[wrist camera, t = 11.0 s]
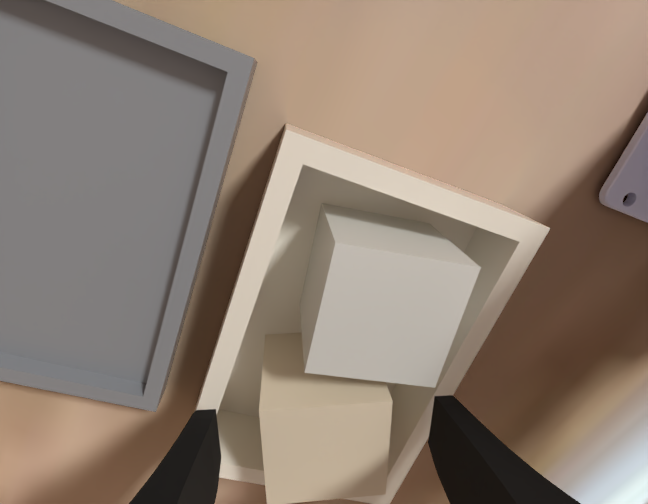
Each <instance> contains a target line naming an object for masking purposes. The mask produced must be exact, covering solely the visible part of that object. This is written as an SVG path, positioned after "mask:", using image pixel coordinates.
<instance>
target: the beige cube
mask: <svg viewBox="0 0 648 504" xmlns="http://www.w3.org/2000/svg"><path fill="white" fill-rule="evenodd" d="M392 404H393V401H392V398H391V395H390V392H389V389H388V387H387V384H386V382H381V381H372V380H363V379H354V378H346V377H337V376H328V375H320V374H311V373H304V359H303V345H302V333H285V334H267V335H265V344H264V356H263V368H262V380H261V392H260V404H259V418H260V430H261V442H262V454H263V465H264V477H265V489H266V501H267V504H289V503H300V502H311V501H321V500H332V499H343V498H353V497H364V496H375V495H385V494H386V484H387V471H388V458H389V444H390V431H391V417H392Z"/></svg>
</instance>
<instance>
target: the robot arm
mask: <svg viewBox="0 0 648 504" xmlns="http://www.w3.org/2000/svg"><path fill="white" fill-rule="evenodd" d="M627 194H628V197H627V199H626V200H625V201H624V202H623V199H624V197H625V196H626V195H627ZM599 200H600V202H601V203H602V204H603V205H604V206H607V207H609V208H612V209H614V210H617V211H619V212H622V213H624V214H627V215H629V216H632V217H634V218H637V219H639V220H641V221H644V222H646V223H648V113H647V114H646V116H645V117H644V119H643V121H642V122H641V124H640V126H639V127H638V129H637V131H636V132H635V134H634V136H633V137H632V139H631V141H630V142H629V144H628V145H627V147H626V149H625V150H624V152H623V154H622V155H621V157H620V159H619V160H618V162H617V164H616V165H615V167H614V169H613V170H612V172H611V173H610V175H609V177H608V178H607V180H606V182H605V183H604V185H603V187H602V188H601V191H600V193H599ZM428 444H429V447H430V450H431V454H432V457H433V461H434V464H435V467H436V470H437V473H438V476H439V478H440V481H441V483H442V485H443V488H444V490H445V492H446V495H447V497H448V499H449V502H450V504H580V503H579V502H578V501H576V500H575V499H573V498H572V497H570V496H569V495H567V494H566V493H565V492H563V491H562V490H561V489H559V488H558V487H556V486H555V485H554V484H552V483H551V482H550V481H548V480H547V479H546V478H544V477H543V476H542V475H540V474H539V473H538V472H537V471H535V470H534V469H533V468H532V467H530V466H529V465H528V464H527V463H526V462H524V461H523V460H522V459H521V458H520V457H518V456H517V455H516V454H515V453H514V452H512V451H511V450H510V449H509V448H508V447H507V446H506V445H504V444H503V443H502V442H501V441H500V440H499V439H498V438H497V437H496V436H495V435H493V434H492V433H491V432H490V431H489V430H488V429H487V428H486V427H485V426H484V425H483V424H482V423H481V422H480V421H479V420H478V419H476V418H475V417H474V416H473V415H472V414H471V413H470V412H469V411H468V410H467V409H466V408H465V407H464V406H463V405H462V404H461V403H460V402H459V401H458V400H457V399H456V398H455V397H454V396H453V395H447V396H435V397H434V404H433V411H432V419H431V426H430V433H429V440H428ZM220 465H221V449H220V440H219V432H218V423H217V415H216V409H209V410H196V411H195V412H194V413H193V414H192V416H191V418H190V419H189V421H188V423H187V424H186V426H185V428H184V429H183V431H182V432H181V434H180V435H179V437H178V438H177V440H176V441H175V443H174V444H173V446H172V447H171V449H170V450H169V452H168V453H167V455H166V456H165V457H164V459H163V460H162V462H161V463H160V464H159V466H158V467H157V469H156V470H155V471H154V473H153V474H152V475H151V477H150V478H149V479H148V480H147V482H146V483H145V484H144V486H143V487H142V488H141V489H140V491H139V492H138V493H137V495H136V496H135V497H134V498H133V500H132V501H131V502H130V503H129V504H214V503H215V499H216V494H217V489H218V481H219V473H220Z"/></svg>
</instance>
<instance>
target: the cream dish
mask: <svg viewBox="0 0 648 504" xmlns="http://www.w3.org/2000/svg"><path fill="white" fill-rule="evenodd" d="M321 203H324V204H329V205H335V206H340V207H345V208H351V209H356V210H361V211H366V212H372V213H377V214H382V215H388V216H393V217H398V218H404V219H409V220H414V221H420V222H425V223H429V224H431V225H432V226H433V227H434V228H435V229H436V230H438V231H439V232H440V233H441V234H442V235H443V236H445V237H446V238H447V239H448V240H449V241H451V242H452V243H453V244H454V245H455V246H456V247H458V248H459V249H460V250H461V251H462V252H463V253H465V254H466V255H467V256H468V257H469V258H470V259H472V260H473V261H474V262H475V263H476V264H477V265H479V266H480V267H481V269H480V272H479V274H478V277H477V279H476V282H475V285H474V287H473V290H472V292H471V295H470V298H469V300H468V303H467V306H466V308H465V311H464V313H463V316H462V319H461V321H460V324H459V326H458V329H457V332H456V334H455V337H454V339H453V342H452V345H451V347H450V350H449V352H448V355H447V358H446V360H445V363H444V366H443V368H442V371H441V373H440V376H439V379H438V381H437V384H436V386H435V388H433V387H424V386H415V385H407V384H398V383H389V382H386V384H387V387H388V389H389V392H390V395H391V398H392V401H393V404H392V417H391V431H390V444H389V458H388V471H387V484H386V494H385V495H375V496H364V497H353V498H343V499H347V500H353V501H358V502H364V503H370V504H390V503H391V501H392V499H393V497H394V496H395V494H396V492H397V491H398V489H399V487H400V485H401V484H402V482H403V480H404V479H405V477H406V475H407V473H408V472H409V470H410V468H411V467H412V465H413V463H414V461H415V460H416V458H417V456H418V455H419V453H420V451H421V449H422V448H423V446H424V444H425V443H426V441H427V439H428V437H429V433H430V426H431V419H432V411H433V404H434V397H435V396H447V395H454V393H455V391H456V389H457V388H458V386H459V384H460V383H461V381H462V379H463V377H464V376H465V374H466V372H467V371H468V369H469V367H470V365H471V364H472V362H473V360H474V359H475V357H476V355H477V353H478V352H479V350H480V348H481V347H482V345H483V343H484V341H485V340H486V338H487V336H488V335H489V333H490V331H491V329H492V328H493V326H494V324H495V322H496V321H497V319H498V317H499V316H500V314H501V312H502V310H503V309H504V307H505V305H506V304H507V302H508V300H509V298H510V297H511V295H512V293H513V292H514V290H515V288H516V286H517V285H518V283H519V281H520V280H521V278H522V276H523V274H524V273H525V271H526V269H527V268H528V266H529V264H530V262H531V261H532V259H533V257H534V256H535V254H536V252H537V250H538V249H539V247H540V245H541V244H542V242H543V240H544V238H545V237H546V235H547V233H548V232H549V230H550V228H549V227H547V226H545V225H543V224H541V223H539V222H537V221H535V220H533V219H530V218H528V217H526V216H524V215H522V214H520V213H518V212H516V211H514V210H512V209H510V208H508V207H506V206H504V205H501V204H499V203H497V202H494V201H491V200H489V199H486V198H483V197H481V196H478V195H475V194H473V193H470V192H468V191H465V190H462V189H460V188H457V187H454V186H452V185H449V184H446V183H444V182H441V181H438V180H436V179H433V178H430V177H428V176H425V175H423V174H420V173H417V172H415V171H412V170H409V169H407V168H404V167H401V166H399V165H396V164H393V163H391V162H388V161H385V160H383V159H380V158H378V157H375V156H372V155H370V154H367V153H364V152H362V151H359V150H356V149H354V148H351V147H348V146H346V145H343V144H340V143H338V142H335V141H333V140H330V139H327V138H325V137H322V136H319V135H317V134H314V133H311V132H309V131H306V130H303V129H301V128H298V127H295V126H293V125H290V124H288V123H286V124H285V127H284V131H283V134H282V137H281V140H280V143H279V146H278V149H277V152H276V156H275V159H274V162H273V165H272V168H271V171H270V174H269V178H268V181H267V184H266V187H265V190H264V193H263V196H262V200H261V203H260V206H259V209H258V212H257V215H256V218H255V222H254V225H253V228H252V231H251V234H250V237H249V240H248V244H247V247H246V250H245V253H244V256H243V259H242V262H241V265H240V269H239V272H238V275H237V278H236V281H235V284H234V287H233V291H232V294H231V297H230V300H229V303H228V306H227V309H226V313H225V316H224V319H223V322H222V325H221V328H220V331H219V335H218V338H217V341H216V344H215V347H214V350H213V353H212V356H211V360H210V363H209V366H208V369H207V372H206V375H205V378H204V382H203V385H202V388H201V391H200V394H199V397H198V400H197V404H196V407H195V410H194V412H195V411H196V410H209V409H216V415H217V423H218V432H219V440H220V449H221V465H220V473H219V478H225V479H231V480H237V481H242V482H248V483H254V484H260V485H265V477H264V465H263V454H262V442H261V430H260V418H259V404H260V392H261V380H262V368H263V356H264V344H265V335H267V334H285V333H302V331H301V317H300V300H301V295H302V291H303V286H304V281H305V277H306V272H307V268H308V263H309V258H310V254H311V249H312V244H313V240H314V235H315V231H316V226H317V221H318V217H319V212H320V207H321Z"/></svg>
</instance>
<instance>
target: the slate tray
mask: <svg viewBox="0 0 648 504" xmlns="http://www.w3.org/2000/svg"><path fill="white" fill-rule="evenodd" d="M256 65H257V61H256V60H255V59H254V58H252V57H250V56H247V55H245V54H242V53H240V52H237V51H235V50H233V49H230V48H228V47H225V46H223V45H220V44H218V43H215V42H213V41H210V40H208V39H206V38H203V37H201V36H198V35H196V34H193V33H191V32H188V31H186V30H183V29H181V28H178V27H176V26H174V25H171V24H169V23H166V22H164V21H161V20H159V19H156V18H154V17H151V16H149V15H147V14H144V13H142V12H139V11H137V10H134V9H132V8H129V7H127V6H124V5H122V4H119V3H117V2H115V1H112V0H0V381H4V382H9V383H14V384H19V385H24V386H29V387H34V388H39V389H44V390H49V391H54V392H59V393H64V394H69V395H74V396H79V397H84V398H89V399H94V400H99V401H104V402H109V403H114V404H118V405H123V406H128V407H133V408H138V409H143V410H148V411H153V412H156V411H157V408H158V406H159V403H160V401H161V398H162V396H163V394H164V391H165V388H166V384H167V381H168V377H169V374H170V370H171V367H172V363H173V359H174V356H175V352H176V349H177V345H178V342H179V338H180V335H181V331H182V327H183V324H184V320H185V317H186V313H187V310H188V306H189V303H190V299H191V296H192V292H193V288H194V285H195V281H196V278H197V274H198V271H199V267H200V264H201V260H202V256H203V253H204V249H205V246H206V242H207V239H208V235H209V232H210V228H211V224H212V221H213V217H214V214H215V210H216V207H217V203H218V200H219V196H220V192H221V189H222V185H223V182H224V178H225V175H226V171H227V168H228V164H229V161H230V157H231V153H232V150H233V146H234V143H235V139H236V136H237V132H238V129H239V125H240V121H241V118H242V114H243V111H244V107H245V104H246V100H247V97H248V93H249V89H250V86H251V82H252V79H253V75H254V72H255V68H256Z"/></svg>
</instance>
